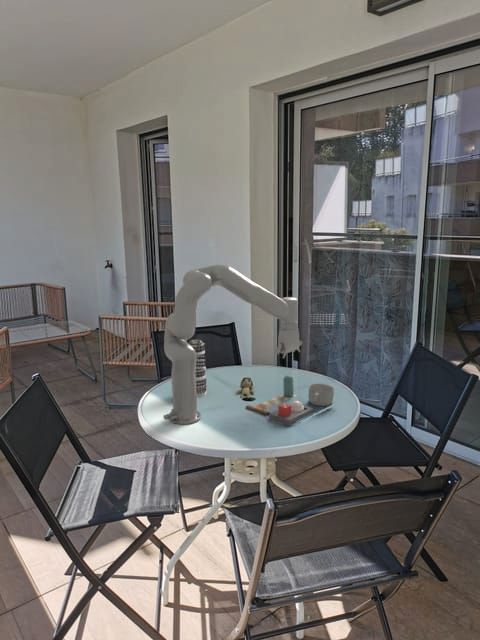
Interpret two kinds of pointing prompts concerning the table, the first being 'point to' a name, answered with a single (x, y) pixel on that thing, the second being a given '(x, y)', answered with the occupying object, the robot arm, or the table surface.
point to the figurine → (246, 387)
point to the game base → (289, 414)
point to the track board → (262, 407)
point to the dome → (296, 407)
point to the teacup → (321, 394)
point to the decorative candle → (199, 367)
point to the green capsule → (288, 386)
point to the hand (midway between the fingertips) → (289, 363)
